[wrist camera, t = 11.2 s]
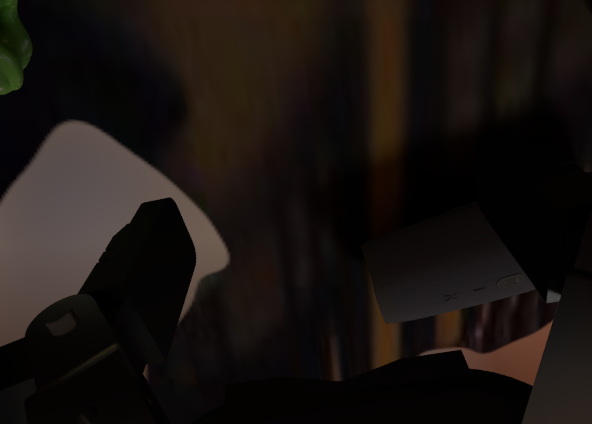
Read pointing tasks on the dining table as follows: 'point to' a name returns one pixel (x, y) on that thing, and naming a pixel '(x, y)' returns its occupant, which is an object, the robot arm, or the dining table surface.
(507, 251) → the bluetooth speaker
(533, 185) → the robot arm
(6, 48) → the turtle holder
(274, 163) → the dining table surface
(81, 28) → the dining table surface
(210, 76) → the dining table surface
